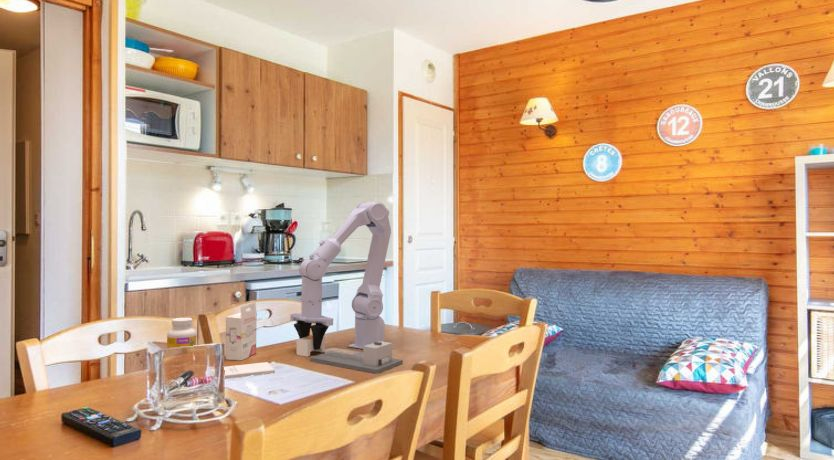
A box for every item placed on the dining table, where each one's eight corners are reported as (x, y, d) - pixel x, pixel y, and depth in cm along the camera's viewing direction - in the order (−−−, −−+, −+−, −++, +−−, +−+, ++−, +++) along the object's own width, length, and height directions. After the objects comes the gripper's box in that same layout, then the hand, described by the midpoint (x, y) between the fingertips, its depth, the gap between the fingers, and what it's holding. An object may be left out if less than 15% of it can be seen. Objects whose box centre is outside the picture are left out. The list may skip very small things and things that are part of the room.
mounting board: (338, 352, 157) (338, 349, 157) (402, 363, 146) (402, 359, 146) (310, 361, 147) (310, 357, 147) (376, 373, 136) (376, 369, 136)
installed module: (379, 358, 147) (379, 338, 147) (391, 360, 145) (392, 340, 145) (362, 364, 141) (363, 343, 140) (375, 366, 138) (375, 345, 138)
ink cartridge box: (240, 352, 155) (241, 301, 155) (256, 353, 154) (257, 301, 154) (224, 359, 147) (225, 305, 147) (241, 361, 146) (241, 306, 146)
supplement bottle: (173, 375, 131) (174, 322, 131) (161, 370, 135) (162, 318, 135) (200, 370, 136) (201, 319, 136) (188, 365, 140) (189, 315, 140)
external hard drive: (274, 375, 135) (221, 381, 129) (267, 367, 142) (216, 372, 136) (274, 369, 135) (221, 374, 129) (267, 361, 142) (217, 366, 136)
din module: (314, 349, 160) (314, 332, 160) (324, 351, 158) (325, 334, 158) (296, 354, 154) (296, 337, 154) (307, 356, 152) (307, 338, 152)
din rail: (333, 352, 153) (333, 347, 153) (389, 362, 143) (389, 356, 143) (324, 355, 150) (324, 349, 150) (381, 365, 140) (381, 359, 140)
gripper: (283, 300, 156) (282, 347, 156) (321, 304, 149) (321, 354, 149) (300, 297, 162) (299, 343, 162) (338, 301, 155) (337, 349, 155)
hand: (310, 348), depth 156 cm, fingers closed on din module, 4 cm apart
